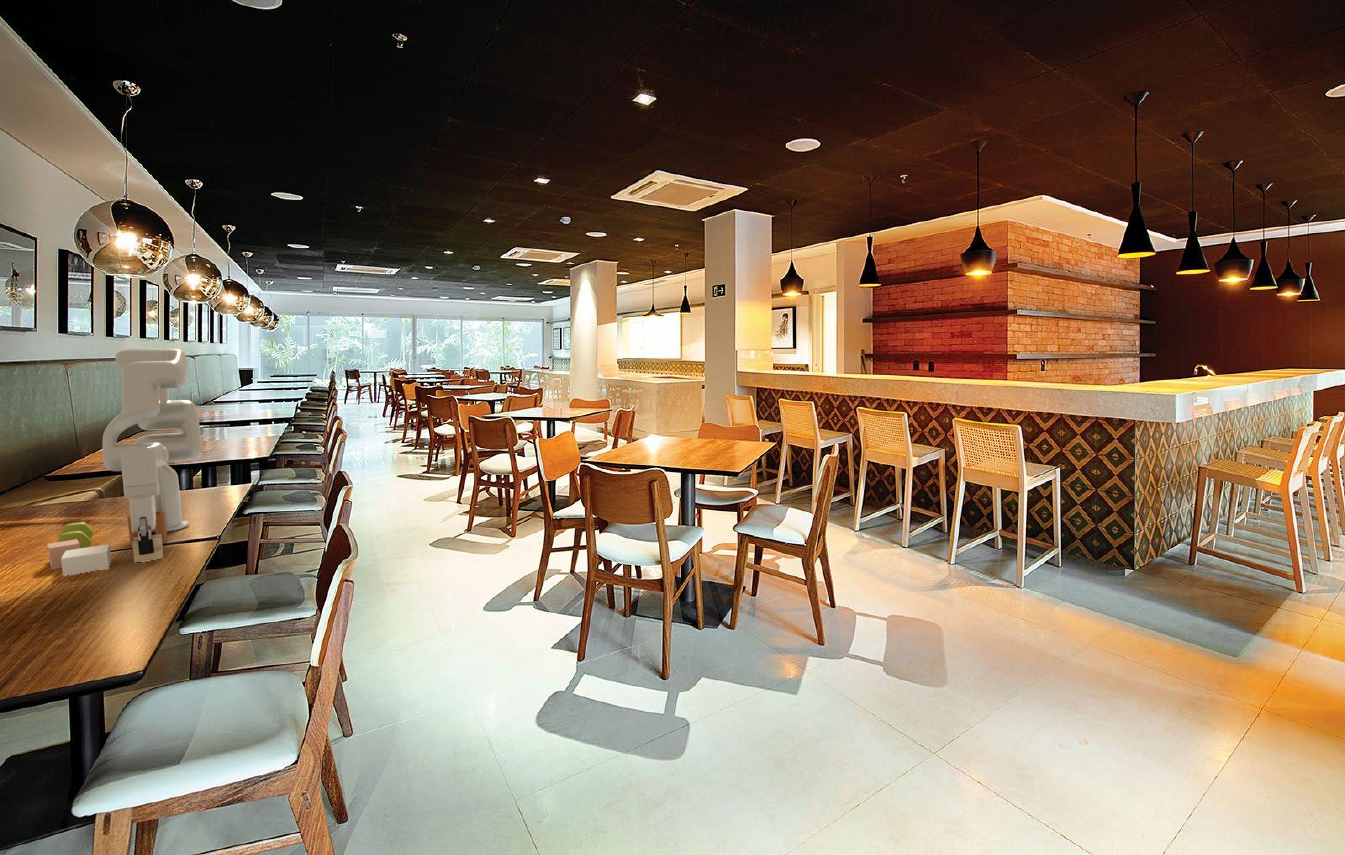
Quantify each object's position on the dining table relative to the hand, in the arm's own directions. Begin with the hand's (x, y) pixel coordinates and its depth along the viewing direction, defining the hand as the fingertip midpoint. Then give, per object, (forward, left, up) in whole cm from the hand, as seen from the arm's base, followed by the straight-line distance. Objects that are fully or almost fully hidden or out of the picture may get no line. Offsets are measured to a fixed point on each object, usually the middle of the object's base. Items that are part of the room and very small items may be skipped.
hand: (148, 549), depth 180 cm
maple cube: (0, 0, -3) cm, 3 cm away
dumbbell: (-23, -18, -3) cm, 30 cm away
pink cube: (-8, -18, -3) cm, 20 cm away
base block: (0, -13, -3) cm, 13 cm away
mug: (-18, -1, -3) cm, 19 cm away
